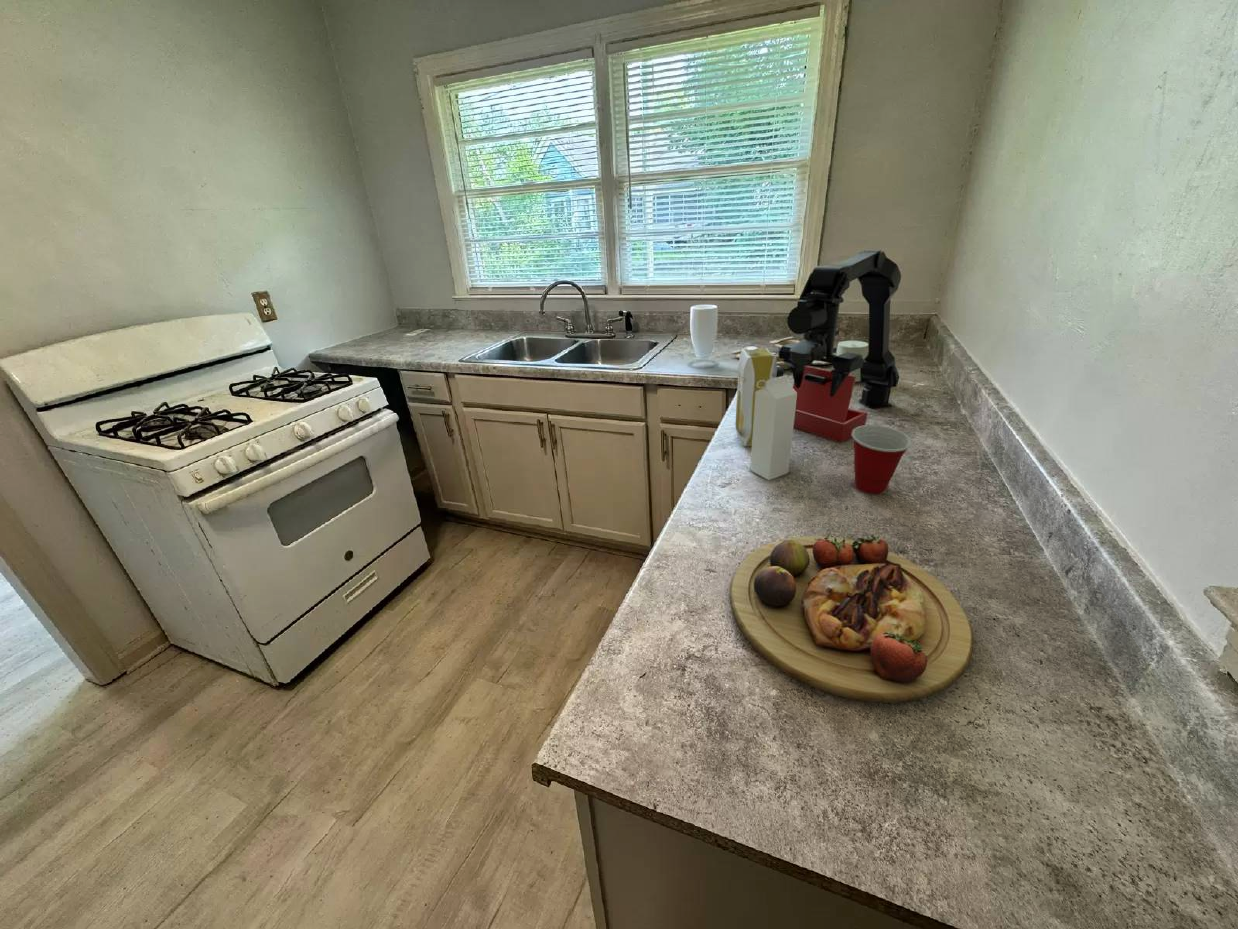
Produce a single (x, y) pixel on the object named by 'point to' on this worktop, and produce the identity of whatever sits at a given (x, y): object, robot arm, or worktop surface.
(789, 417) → the milk
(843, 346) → the can
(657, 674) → the worktop surface
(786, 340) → the tableware set
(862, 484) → the plastic cup
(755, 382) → the juice carton
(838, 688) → the wooden plate
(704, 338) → the cup
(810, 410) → the red box lid
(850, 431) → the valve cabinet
